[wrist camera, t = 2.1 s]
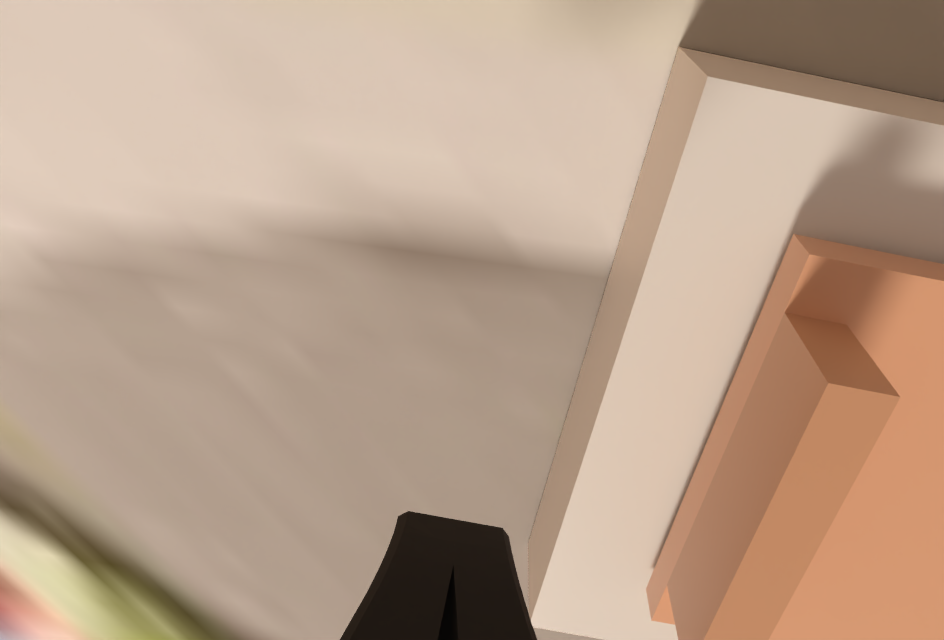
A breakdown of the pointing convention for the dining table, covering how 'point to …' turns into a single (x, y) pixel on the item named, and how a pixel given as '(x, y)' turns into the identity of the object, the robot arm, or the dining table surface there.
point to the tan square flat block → (821, 464)
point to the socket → (710, 303)
